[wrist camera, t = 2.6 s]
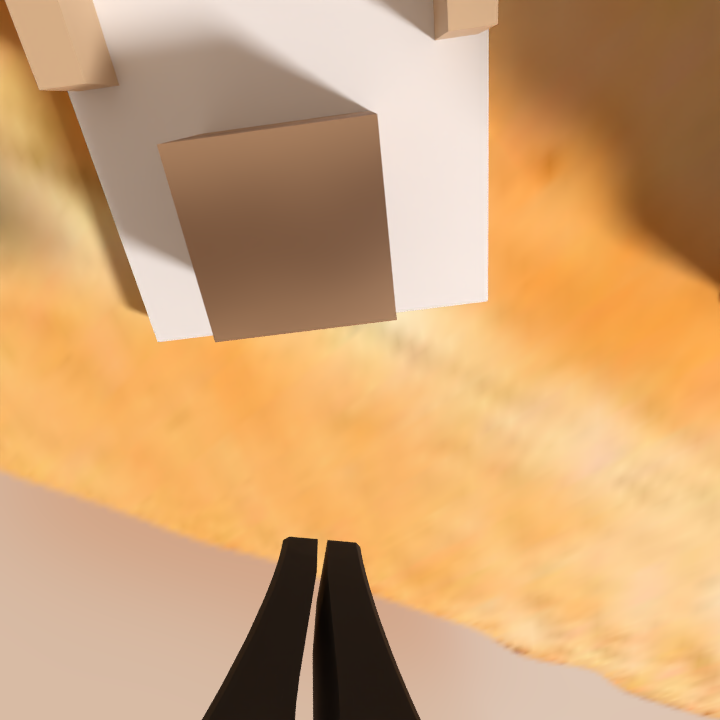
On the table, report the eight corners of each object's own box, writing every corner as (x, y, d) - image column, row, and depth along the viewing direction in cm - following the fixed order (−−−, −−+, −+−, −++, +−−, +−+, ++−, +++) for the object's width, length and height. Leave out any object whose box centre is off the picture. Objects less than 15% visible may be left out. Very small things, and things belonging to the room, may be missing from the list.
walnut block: (385, 273, 17) (396, 320, 13) (242, 291, 17) (215, 342, 13) (369, 110, 14) (377, 114, 11) (202, 133, 14) (156, 144, 11)
